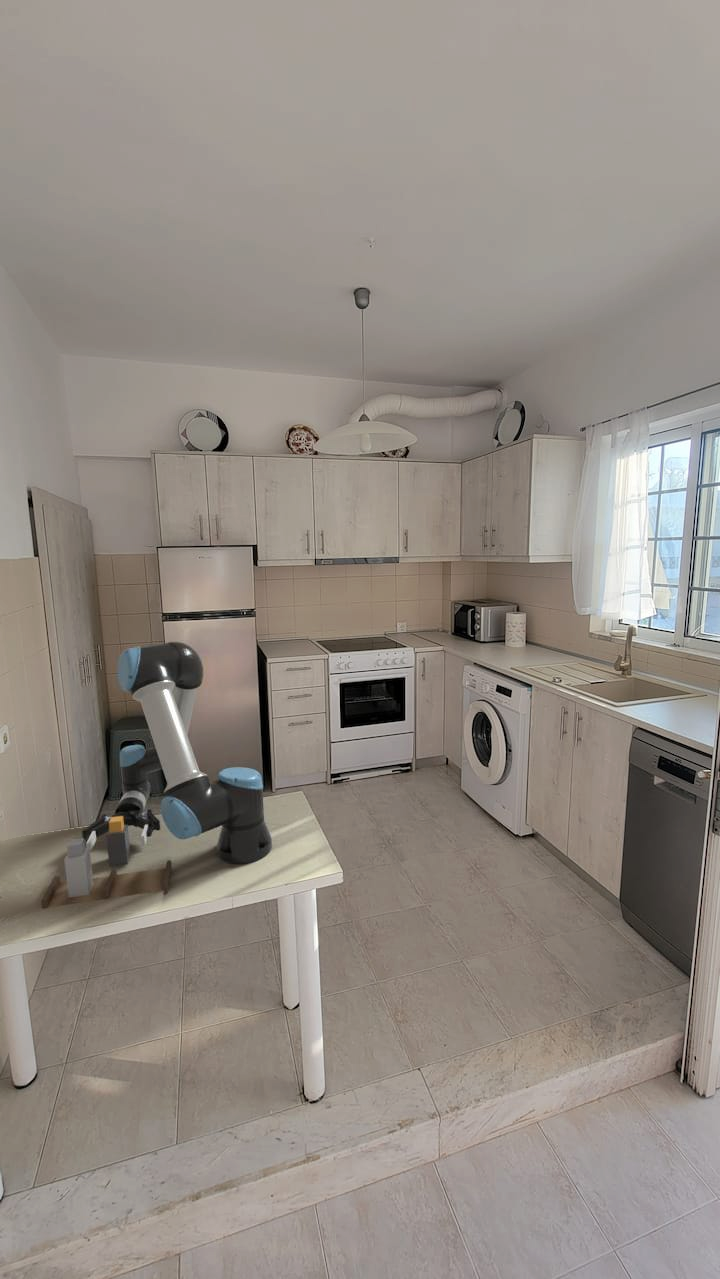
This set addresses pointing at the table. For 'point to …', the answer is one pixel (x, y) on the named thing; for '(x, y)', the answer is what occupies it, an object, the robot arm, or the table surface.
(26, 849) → the table surface
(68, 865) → the grey plug
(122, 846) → the charcoal plug
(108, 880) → the brown wooden tray
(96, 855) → the table surface
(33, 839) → the table surface
